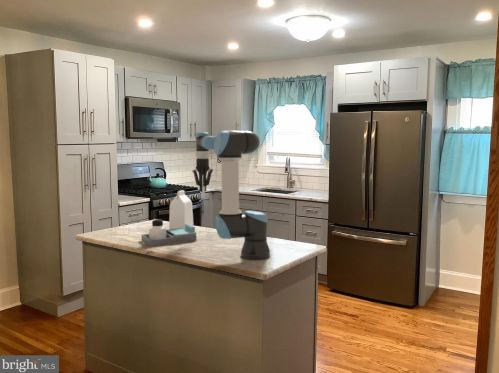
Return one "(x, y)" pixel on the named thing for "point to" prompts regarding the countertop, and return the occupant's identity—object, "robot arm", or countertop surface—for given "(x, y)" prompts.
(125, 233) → the countertop surface
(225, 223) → the robot arm
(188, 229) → the lid
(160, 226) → the medicine bottle
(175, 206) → the milk
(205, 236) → the countertop surface
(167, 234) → the housing
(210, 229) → the countertop surface
